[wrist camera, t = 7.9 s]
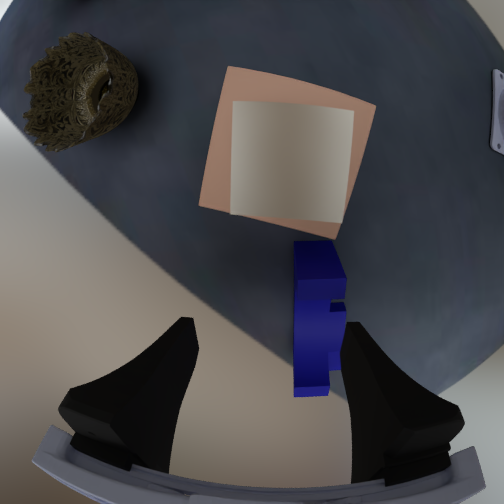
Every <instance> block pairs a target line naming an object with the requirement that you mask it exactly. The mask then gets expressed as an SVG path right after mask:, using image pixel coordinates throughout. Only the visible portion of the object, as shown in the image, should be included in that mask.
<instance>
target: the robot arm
mask: <svg viewBox="0 0 504 504" xmlns="http://www.w3.org/2000/svg"><path fill="white" fill-rule="evenodd" d="M500 76H501V77H500ZM497 145H498V147H497ZM490 146H491V148H492V149H493V150H495V151H497V152H499V153H501V154H503V155H504V74H503V73H502V72H500V71H499V70H497V69H494V70H493V114H492V129H491V139H490ZM198 351H199V345H198V340H197V335H196V330H195V325H194V319H193V318H190V317H181V318H179V319H178V320H177V321H176V322H175V323H174V324H173V325H172V326H171V327H170V328H169V329H168V330H167V331H166V332H165V333H164V334H163V335H162V336H161V337H159V338H158V340H156V341H155V342H154V343H153V344H152V345H151V346H149V347H148V348H147V349H146V350H144V351H143V352H142V353H141V354H140V355H138V356H137V357H135V358H134V359H133V360H131V361H130V362H128V363H127V364H125V365H123V366H122V367H120V368H118V369H116V370H115V371H113V372H111V373H109V374H107V375H105V376H103V377H101V378H99V379H96V380H94V381H92V382H89V383H86V384H83V385H81V386H77V387H74V388H70V390H69V391H68V393H67V394H66V396H65V398H64V399H63V401H62V402H61V404H60V406H59V408H58V410H59V413H60V415H61V416H62V418H63V419H64V420H65V421H66V422H67V423H68V424H69V426H70V427H71V428H72V429H73V430H74V431H75V434H74V436H72V435H70V434H69V433H67V432H65V431H63V430H61V429H59V428H57V427H55V426H53V425H51V426H50V427H49V429H48V431H47V433H46V435H45V436H44V438H43V440H42V442H41V444H40V445H39V448H38V449H37V451H36V453H35V455H34V457H33V459H32V462H33V463H34V464H36V465H37V466H38V467H40V468H41V469H42V470H43V471H45V472H46V473H48V474H49V475H51V476H52V477H53V478H55V479H56V480H58V481H59V482H61V483H63V484H64V485H66V486H68V487H70V488H72V489H74V490H75V491H77V492H79V493H81V494H83V495H85V496H87V497H89V498H91V499H93V500H95V501H97V502H99V503H101V504H459V503H461V502H463V501H465V500H466V499H468V498H470V497H472V496H473V495H475V494H477V493H478V492H480V491H482V490H483V489H485V487H486V485H485V481H484V478H483V473H482V470H481V466H480V463H479V460H478V456H477V453H476V450H475V447H474V446H472V447H469V448H467V449H464V450H462V451H459V452H457V453H455V454H453V455H451V456H449V453H448V451H449V450H450V449H451V447H450V444H449V442H450V441H451V440H452V439H453V438H454V437H455V436H456V435H457V434H458V433H459V432H460V431H461V430H462V428H463V426H464V424H465V422H464V419H463V416H462V414H461V411H460V409H459V407H458V406H457V405H455V404H453V403H451V402H449V401H447V400H445V399H442V398H440V397H439V396H437V395H435V394H434V393H432V392H430V391H429V390H427V389H426V388H424V387H423V386H421V385H420V384H418V383H417V382H416V381H414V380H413V379H412V378H410V377H409V376H408V375H407V374H406V373H405V372H403V371H402V370H401V369H400V368H399V367H398V366H397V365H396V364H395V363H394V362H393V361H392V360H391V359H390V358H389V357H388V356H387V355H386V354H385V353H384V351H383V350H382V349H381V348H380V347H379V346H378V344H377V343H376V342H375V341H374V340H373V338H372V337H371V336H370V335H369V333H368V332H367V331H366V330H365V328H364V327H363V326H362V325H361V323H360V322H347V324H346V328H345V333H344V337H343V341H342V345H341V349H340V363H341V372H342V377H343V381H344V386H345V390H346V395H347V400H348V404H349V410H350V417H351V430H352V476H351V484H347V485H339V486H327V487H311V488H262V487H247V486H235V485H227V484H219V483H212V482H206V481H200V480H194V479H189V478H184V477H179V476H175V475H171V474H169V465H170V457H171V451H172V444H173V439H174V433H175V428H176V424H177V419H178V415H179V410H180V407H181V404H182V400H183V398H184V395H185V392H186V389H187V387H188V384H189V382H190V379H191V376H192V373H193V371H194V368H195V365H196V361H197V356H198ZM184 494H186V495H190V496H186V495H184Z"/></svg>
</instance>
